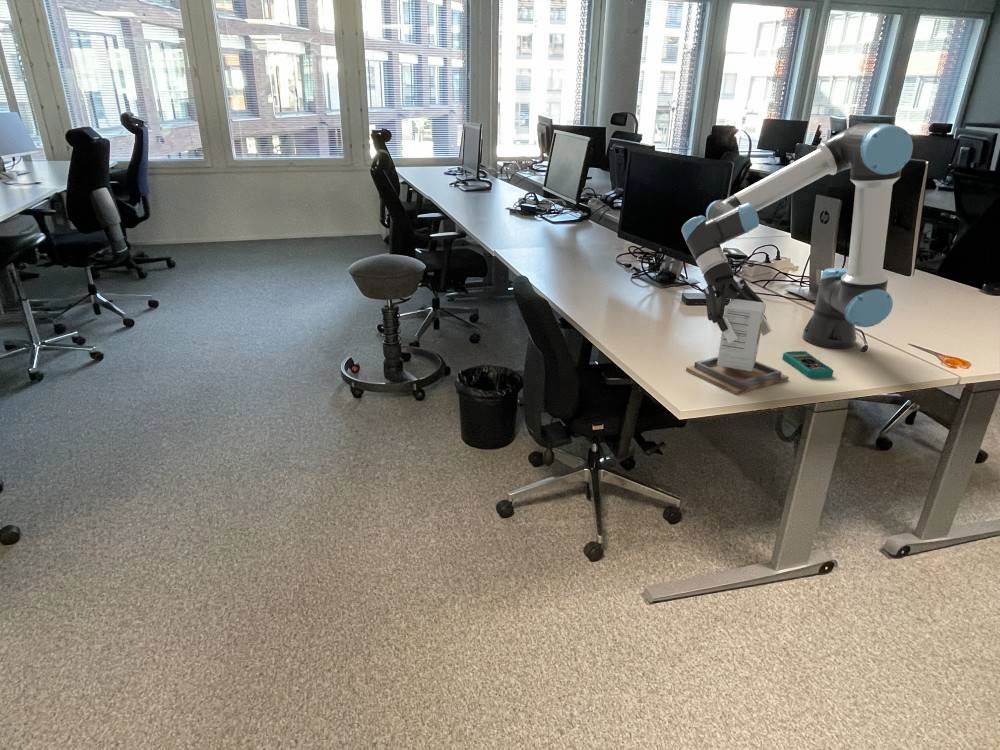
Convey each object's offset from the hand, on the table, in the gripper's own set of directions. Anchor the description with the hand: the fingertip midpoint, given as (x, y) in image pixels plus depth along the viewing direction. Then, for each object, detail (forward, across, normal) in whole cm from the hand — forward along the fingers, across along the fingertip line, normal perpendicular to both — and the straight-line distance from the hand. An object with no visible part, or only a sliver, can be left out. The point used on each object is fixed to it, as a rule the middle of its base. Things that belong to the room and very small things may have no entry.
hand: (750, 337), depth 168 cm
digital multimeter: (+11, -22, -7) cm, 26 cm away
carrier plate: (+7, 0, -10) cm, 12 cm away
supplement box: (+4, 0, -8) cm, 9 cm away
